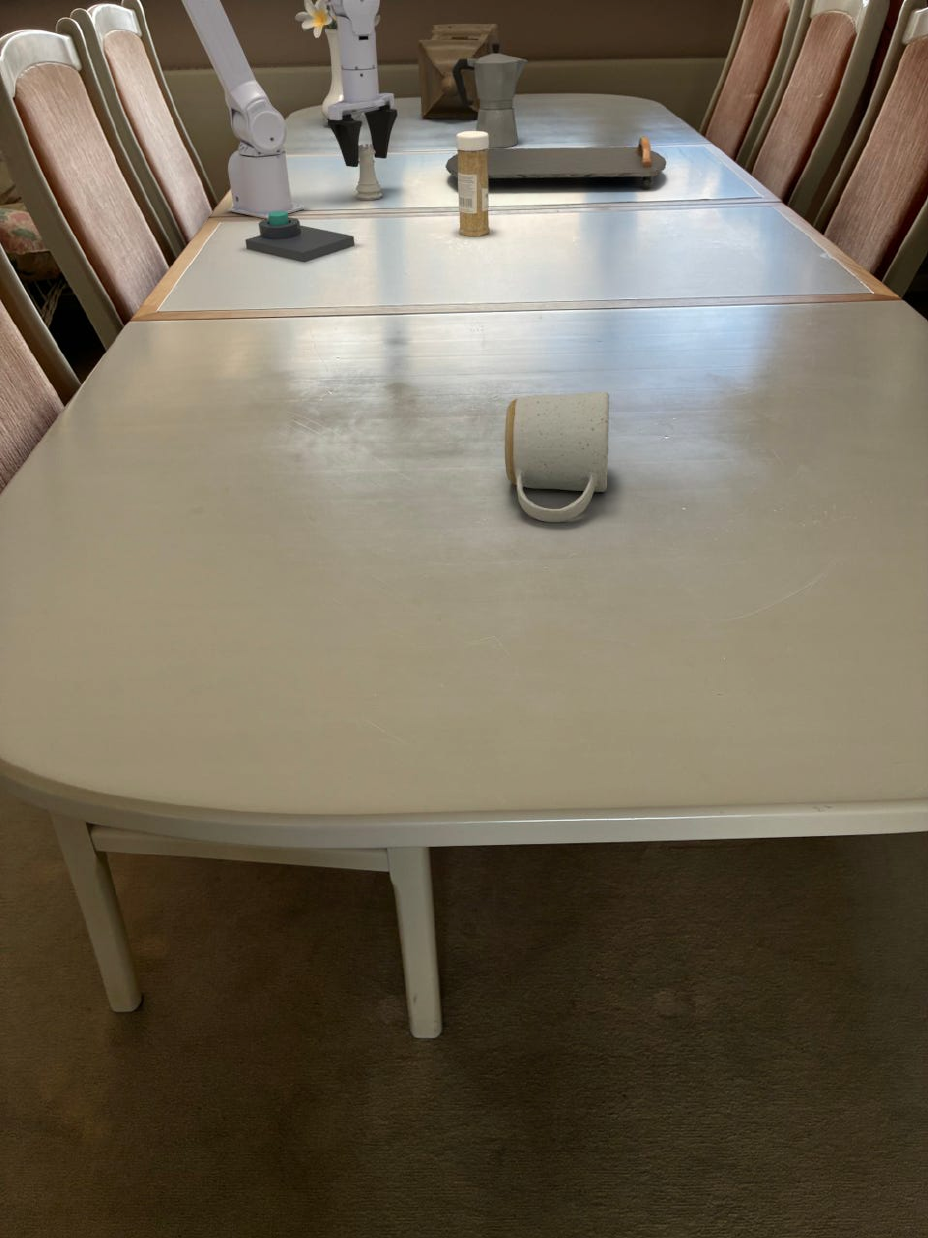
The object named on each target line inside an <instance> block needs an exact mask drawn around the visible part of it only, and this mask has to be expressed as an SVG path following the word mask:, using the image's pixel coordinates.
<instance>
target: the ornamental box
mask: <svg viewBox="0 0 928 1238" xmlns="http://www.w3.org/2000/svg"><path fill="white" fill-rule="evenodd" d="M430 35H431V39H420V40H418V42H417V59H418V77H419V79H418V80H419V91H420V104H421V105H420V107H421V109H420V110H421V117H422V119H478V112H479V109H480V99H478V95H477V88H476V81H475V74H474V70H467V69H463V70H462V71H461V75H462V77H463V84H464V87H465V89H466V96H467V99H468V100H473V104H472V105H471V106H466V105H463V104H462V101H461V98H460V95H459V92H458V89H457V86H456V83H455V80H454V77H453V74H452V70H453V67H454V66H455V65H456V63H457V62H458V60H459V59H466V58H467V59H479V58H482V57H484V56H487V55H490V54H493V49H492V44H493V43H499V36H498V35H499V34H498V24H496V23H486V24H485V23H484V24H483V23H482V24H479V23H451V24H448V23H447V24H435V25H433V29H431V30H430Z"/></svg>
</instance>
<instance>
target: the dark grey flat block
mask: <svg viewBox="0 0 928 1238" xmlns="http://www.w3.org/2000/svg"><path fill="white" fill-rule="evenodd" d="M288 219H289V223H288V224H285V225H269V219H262V220H261V221H260V222H258V229H259V235H256V236H252V237H249V238H246V239H245V247H246V250H249V251H254V252H258V253H261V254H267V255H271V256H275V257H279V258H284V259H288V260H293V261H296V262H301V263H307V262H310V261H313V260H317V259H319V258H322V257H325V256H328V255H331V254H335V253H337V252H339V251H343V250H346V249H349V248H352V247H355V244H356V243H355V236H354V235H350V234H345V233H339V232H334V231H329V230H325V229H320V228H316V227H311V226H305V225H301V222H300V220H299V219H298V218H296V217H291V216H288Z"/></svg>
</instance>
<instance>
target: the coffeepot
mask: <svg viewBox="0 0 928 1238" xmlns="http://www.w3.org/2000/svg"><path fill="white" fill-rule="evenodd" d="M500 46H501V44H500V43H499V42H498V43H493V44H492V49H493V54H490V55H487V56H484V57H482V58H479V59H467V58H466V59H459V60H458V62H457V63H456V65H455V66H454V67H453V70H452V74H453V77H454V80H455V83H456V86H457V89H458V92H459V95H460V98H461V101H462V104H463V105H466V106H471V105H472V104H473V100H468V99H467V96H466V89H465V87H464V84H463V77H462V75H461V71H462V70H463V69H467V70H474V74H475V81H476V88H477V95H478V99H480V109H479V112H478V118H477V121H476V128H475V131H482V132H486V133H488V136H489V147H488V148H487V149H507V148H512V147H515V146H517V145H518V142H519V137H518V129H517V123H516V114H515V108H514V107H513V106H514V100H513V99H515V94H516V87H517V82H518V80H519V79H520V76H521V74H522V72H523V70H524V69H525V67H526V66H527V65H528V64H529V61H528V60H527V59H525V58H520V57H515V56H510V55H506V54H502V53H499V52H500Z"/></svg>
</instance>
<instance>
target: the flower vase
mask: <svg viewBox="0 0 928 1238" xmlns="http://www.w3.org/2000/svg"><path fill="white" fill-rule="evenodd" d="M303 6H304V9H305V11H301V12H298V13H296V15H295V16H294V19H295V20H296V21H298V22H302V23H301V28H302V31H303V32H307V31H308V30H310V29H313V35H314V37H315V38H316V39H318V38H320V36H321V35H322V30H323V27H324V26H325V27H326V28H325V29H324V33H325V34H326V37H327V42H328V47H329V53H330V65H331V83H330V87H329V90H328V91H329V92H328V93H327V94H326V97H325V98H324V99H323V102H322V103H321V113H322V116H323V117H324V118H325V119H326V120H327V119H328V118H329V113H328V106H329V105H333V104H335V103H337V102H339V101H341V100H344V96H343V85H342V74H341V61H340V50H339V39H338V24H337V16H335V15H334V14H333V12H332V11H331V8H330V7H329V10H328V9H327V8H328V7H327V6H328V5H327V4H326V3H324V2H323V1H322V0H316V2H315V4H314V3H313V1H312V0H303ZM380 20H381V15H379V14H378V15H376V16H375V18H374V28H376V27H377V26H378V25H379V23H380ZM375 39H376V40H377V33H376V31H375ZM362 114H363V113H361V114H357V115H353V116H352V118H354V120H358V119H359V118H360V117H361V116H362Z"/></svg>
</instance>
